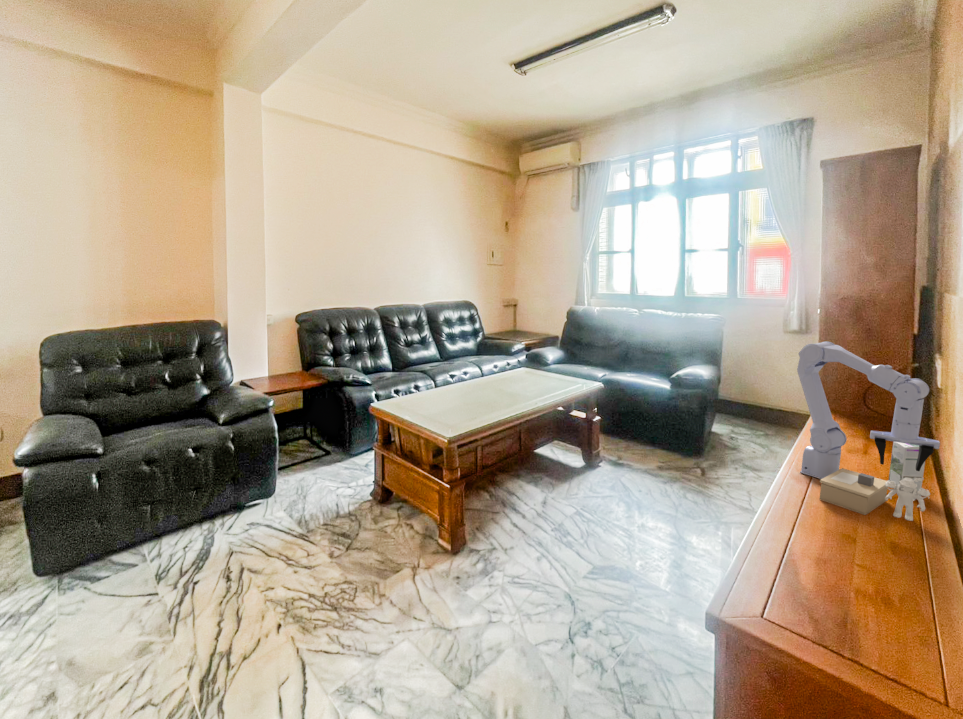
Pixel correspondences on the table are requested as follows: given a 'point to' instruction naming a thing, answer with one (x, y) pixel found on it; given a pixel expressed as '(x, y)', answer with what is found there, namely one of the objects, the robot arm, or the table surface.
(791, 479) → the table surface
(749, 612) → the table surface
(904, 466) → the syrup box
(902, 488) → the blocky character figurine
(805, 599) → the table surface
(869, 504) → the mailer box
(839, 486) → the mailer lid
